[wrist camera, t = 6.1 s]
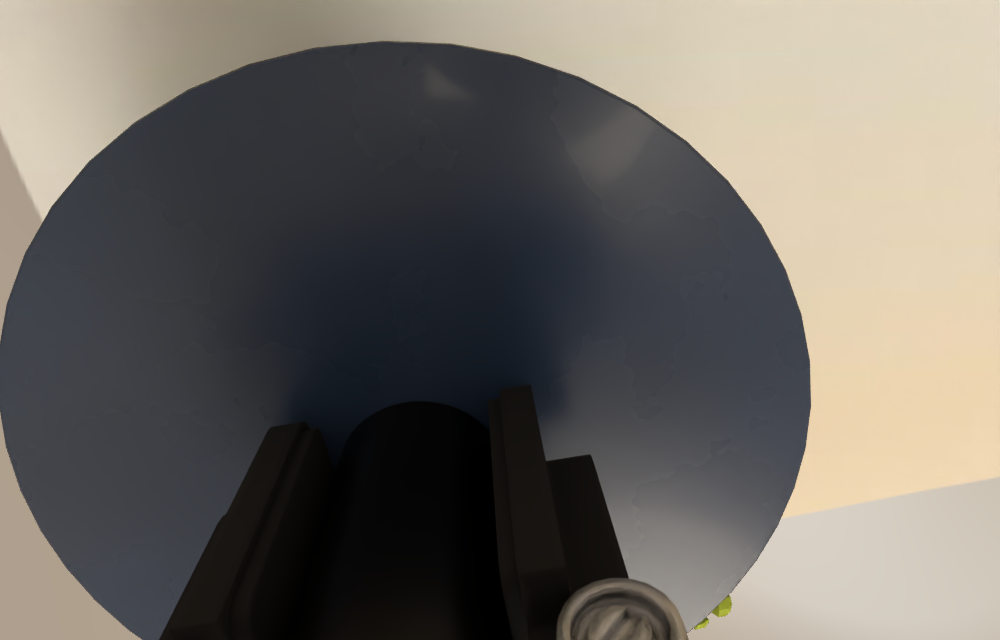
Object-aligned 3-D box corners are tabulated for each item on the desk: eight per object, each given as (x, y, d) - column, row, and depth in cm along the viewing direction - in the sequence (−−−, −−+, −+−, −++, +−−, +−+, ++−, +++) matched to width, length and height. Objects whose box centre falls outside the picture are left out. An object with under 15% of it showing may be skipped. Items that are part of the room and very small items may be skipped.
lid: (468, -192, 8) (480, -695, 3) (898, 458, 13) (1234, 784, 7) (-120, 398, 11) (-715, 766, 6) (403, 752, 16) (370, 1145, 10)
